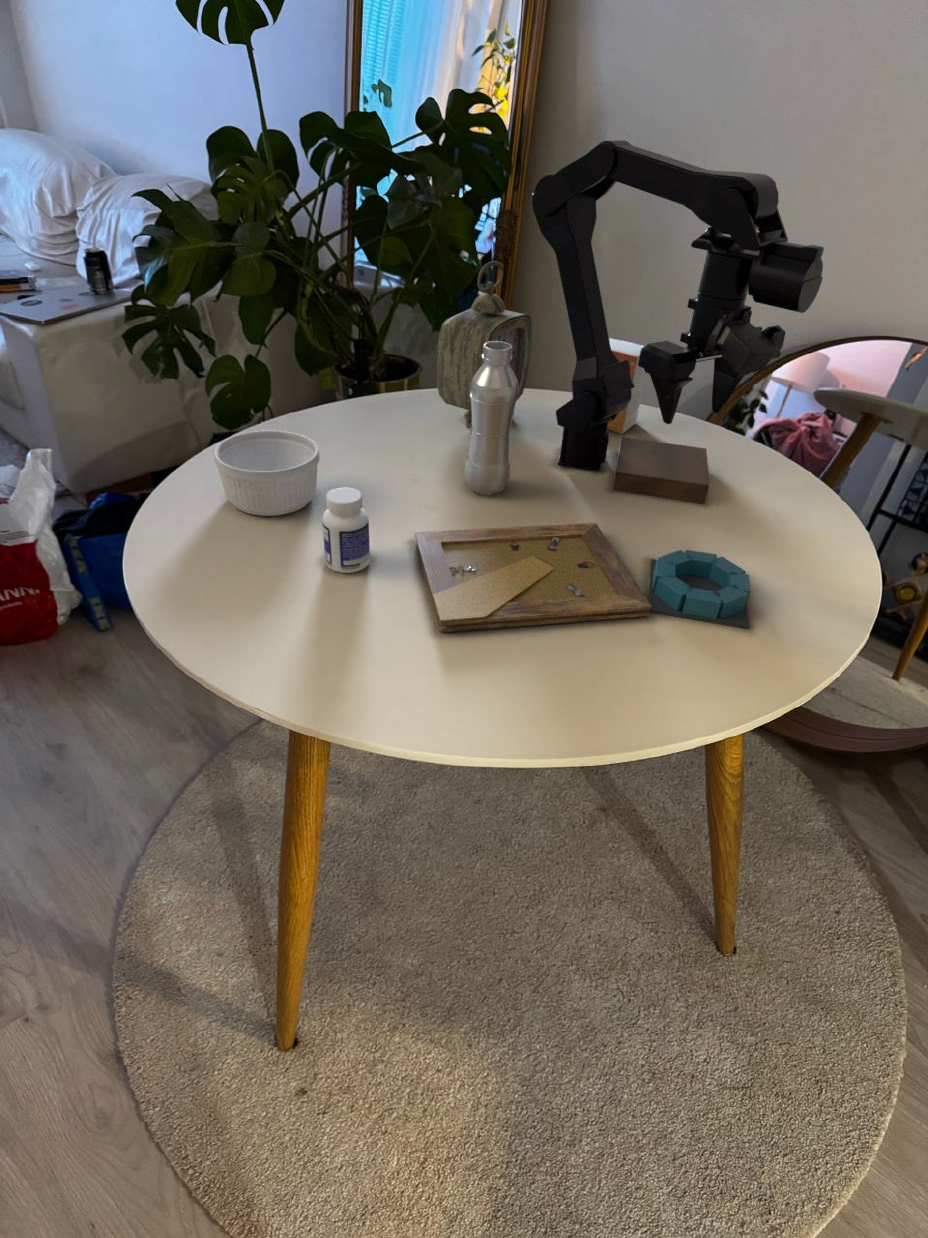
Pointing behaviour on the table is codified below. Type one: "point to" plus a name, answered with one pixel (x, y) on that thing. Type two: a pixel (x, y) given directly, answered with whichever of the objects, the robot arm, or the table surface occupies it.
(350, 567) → the pill bottle
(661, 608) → the mat
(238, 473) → the ramekin
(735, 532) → the table surface
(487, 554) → the picture frame
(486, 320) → the tabletop clock
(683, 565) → the ring
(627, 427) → the small box
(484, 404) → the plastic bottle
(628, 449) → the platform
